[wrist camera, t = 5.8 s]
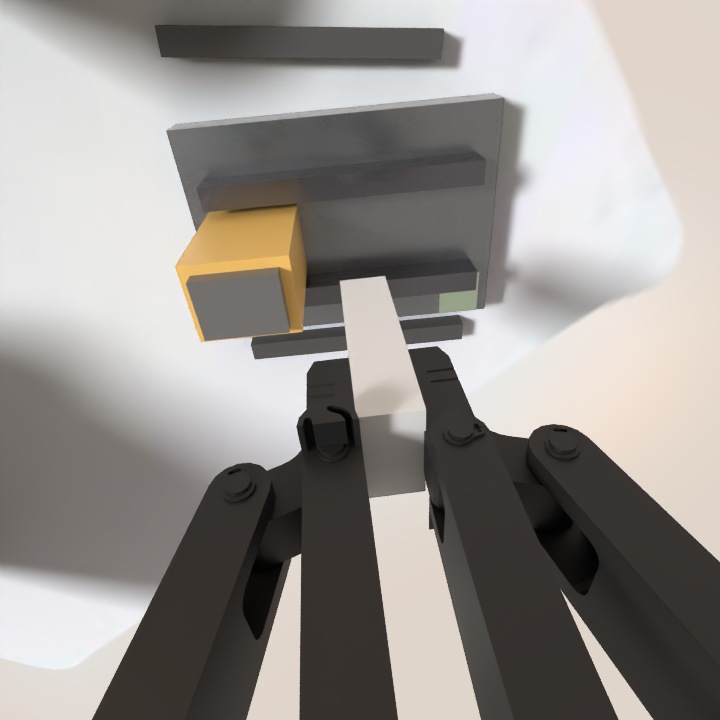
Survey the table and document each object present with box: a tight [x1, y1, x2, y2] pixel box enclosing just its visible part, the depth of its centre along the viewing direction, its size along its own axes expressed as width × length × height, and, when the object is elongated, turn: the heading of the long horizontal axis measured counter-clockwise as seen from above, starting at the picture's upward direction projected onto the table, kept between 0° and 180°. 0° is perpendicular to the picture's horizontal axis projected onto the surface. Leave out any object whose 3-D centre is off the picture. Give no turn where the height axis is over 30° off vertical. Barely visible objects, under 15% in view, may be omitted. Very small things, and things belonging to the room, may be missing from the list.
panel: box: [166, 93, 504, 326], centre depth 22 cm, size 14×10×3 cm
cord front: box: [155, 25, 444, 59], centre depth 18 cm, size 11×1×1 cm, turn 90°
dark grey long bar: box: [251, 315, 463, 359], centre depth 27 cm, size 12×1×1 cm, turn 95°
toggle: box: [175, 203, 307, 342], centre depth 19 cm, size 4×3×7 cm
